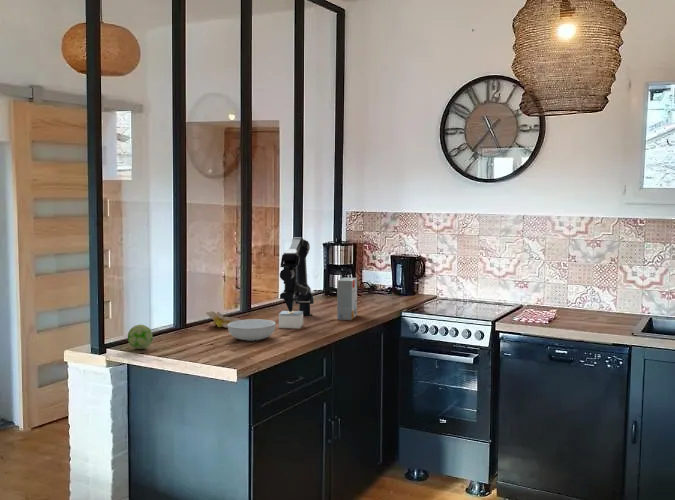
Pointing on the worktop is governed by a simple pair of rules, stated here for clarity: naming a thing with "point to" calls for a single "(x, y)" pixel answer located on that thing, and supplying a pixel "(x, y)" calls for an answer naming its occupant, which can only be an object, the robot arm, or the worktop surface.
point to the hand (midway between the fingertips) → (290, 311)
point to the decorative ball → (140, 336)
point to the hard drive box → (346, 298)
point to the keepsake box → (290, 321)
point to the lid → (291, 313)
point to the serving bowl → (251, 329)
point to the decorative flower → (220, 319)
